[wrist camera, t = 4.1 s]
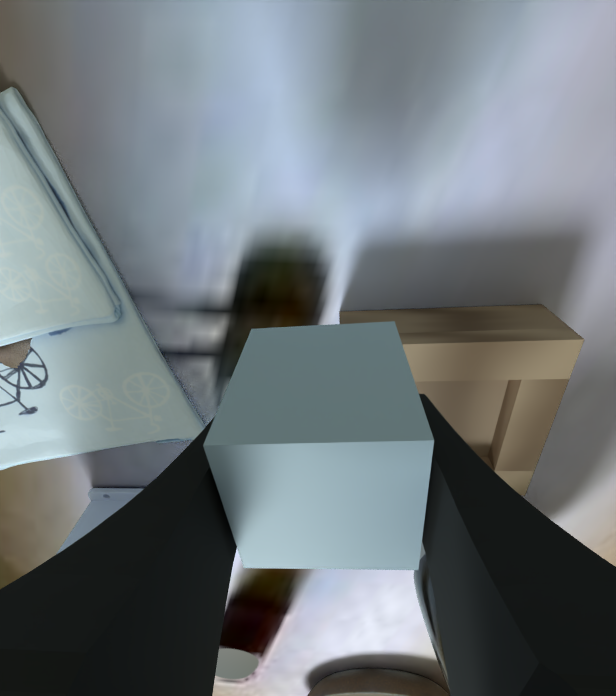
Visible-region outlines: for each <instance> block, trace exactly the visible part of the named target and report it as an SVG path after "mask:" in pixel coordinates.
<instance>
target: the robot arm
mask: <svg viewBox="0 0 616 696" xmlns="http://www.w3.org/2000/svg"><path fill="white" fill-rule="evenodd" d="M419 396H420V399H421V402H422V405H423V408H424V411H425V414H426V417H427V420H428V423H429V426H430V429H431V432H432V435H433V438H434V446H433V454H432V463H431V471H430V479H429V487H428V495H427V503H426V512H425V520H424V528H423V536H422V543H423V546H424V550H425V554H426V558H427V563H428V567H429V572H430V577H431V583H432V588H433V594H434V599H435V605H436V611H437V617H438V622H439V628H440V634H441V640H442V646H443V652H444V658H445V664H446V671H447V677H448V683H449V689H450V696H616V567H615V566H614V565H612V564H611V563H609V562H608V561H606V560H605V559H603V558H602V557H600V556H599V555H597V554H596V553H595V552H593V551H592V550H590V549H589V548H588V547H586V546H585V545H583V544H582V543H581V542H579V541H578V540H577V539H575V538H574V537H573V536H571V535H570V534H569V533H567V532H566V531H565V530H563V529H562V528H561V527H559V526H558V525H557V524H555V523H554V522H553V521H551V520H550V519H549V518H547V517H546V516H545V515H544V514H542V513H541V512H540V511H539V510H537V509H536V508H535V507H534V506H532V505H531V504H530V503H529V502H528V501H527V500H525V499H524V498H523V497H522V496H521V495H520V494H518V493H517V492H516V491H515V490H514V489H513V488H512V487H510V486H509V485H508V484H507V483H506V482H505V481H504V480H503V479H502V478H501V477H500V476H499V475H497V474H496V473H495V472H494V471H493V470H492V469H491V468H490V467H489V466H488V465H487V464H486V463H485V462H484V461H483V460H482V459H481V458H480V457H479V456H478V455H477V454H476V453H475V452H474V451H473V449H472V448H471V447H470V446H469V445H468V444H467V443H466V442H465V441H464V440H463V439H462V437H461V436H460V435H459V434H458V433H457V432H456V431H455V430H454V429H453V427H452V426H451V425H450V424H449V423H448V422H447V420H446V419H445V418H444V417H443V416H442V414H441V413H440V412H439V411H438V409H437V408H436V407H435V406H434V404H433V403H432V402H431V401H430V399H429V398H428V397H427V396H426V395H425V394H419ZM214 418H215V417H214ZM214 418H213V419H212V420H211V422H210V423H209V424H208V425H207V426H206V427H205V428H204V429H203V431H202V432H201V433H200V434H199V435H198V436H197V437H196V438H195V439H194V440H193V441H192V443H191V444H190V445H189V446H188V447H187V448H186V449H185V450H184V451H183V452H182V453H181V454H180V455H179V456H178V457H177V458H176V459H175V460H174V461H173V462H172V463H171V464H170V465H169V466H168V467H167V468H166V469H165V470H164V471H163V472H162V473H161V474H160V475H159V476H158V477H157V478H156V479H155V480H153V481H152V482H151V483H150V484H149V485H148V486H147V487H146V488H144V489H143V488H92V489H91V490H90V491H89V492H88V496H89V498H90V500H91V502H90V504H89V505H88V507H87V508H86V510H85V511H84V513H83V514H82V516H81V517H80V519H79V520H78V522H77V523H76V525H75V527H74V528H73V530H72V531H71V533H70V534H69V536H68V537H67V539H66V540H65V542H64V543H63V545H62V546H61V548H60V549H59V551H58V552H57V554H56V555H55V556H53V557H52V558H50V559H49V560H47V561H46V562H44V563H43V564H41V565H40V566H38V567H37V568H35V569H33V570H32V571H30V572H29V573H27V574H25V575H24V576H22V577H20V578H19V579H17V580H15V581H14V582H12V583H10V584H9V585H7V586H5V587H4V588H2V589H0V696H212V693H213V686H214V679H215V672H216V665H217V658H218V650H219V644H220V637H221V631H222V625H223V619H224V612H225V606H226V600H227V594H228V589H229V583H230V577H231V571H232V566H233V561H234V557H235V553H236V548H237V546H236V543H235V540H234V537H233V534H232V531H231V528H230V525H229V522H228V519H227V516H226V513H225V510H224V507H223V504H222V501H221V498H220V495H219V492H218V489H217V486H216V483H215V480H214V477H213V474H212V471H211V468H210V465H209V462H208V459H207V456H206V453H205V450H204V447H203V445H204V442H205V440H206V437H207V435H208V433H209V430H210V428H211V425H212V423H213V421H214Z"/></svg>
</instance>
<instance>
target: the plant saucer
mask: <svg viewBox="0 0 616 696" xmlns="http://www.w3.org/2000/svg"><path fill="white" fill-rule="evenodd" d="M308 696H450V695H449V694H448V693H447V692H446V691H445V690H444V689H443V688H441V687H440V686H439V685H438V684H436V683H435V682H433V681H431V680H429V679H427V678H425V677H422V676H419V675H416V674H413V673H409V672H404V671H398V670H392V669H379V668H364V669H353V670H346V671H341V672H337V673H334V674H331V675H329V676H327V677H325V678H323V679H322V680H321V681H320V682H319V683H318V684H317V685H316V686H315V687H314V688H313V689H312V690H311V691H310V693H309V694H308Z"/></svg>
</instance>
